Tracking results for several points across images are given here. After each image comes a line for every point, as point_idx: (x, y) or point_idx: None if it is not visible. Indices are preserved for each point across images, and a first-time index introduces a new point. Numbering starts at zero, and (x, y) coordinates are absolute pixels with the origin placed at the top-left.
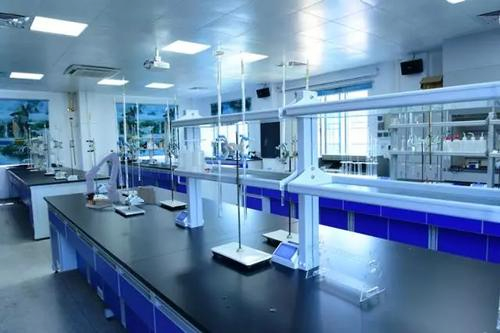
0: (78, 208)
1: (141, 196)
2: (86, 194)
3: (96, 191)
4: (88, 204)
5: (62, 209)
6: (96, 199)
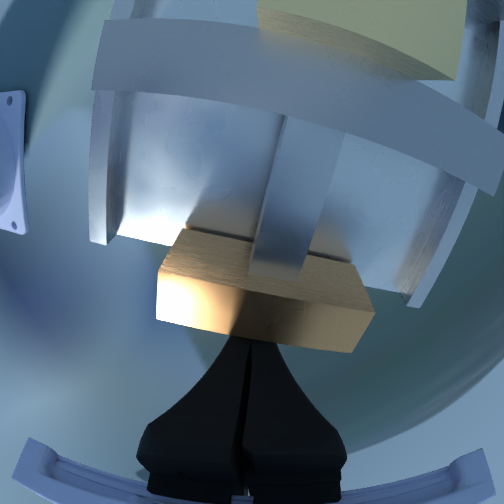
0: (482, 286)
1: None
2: (422, 477)
3: (48, 469)
4: (460, 223)
5: (478, 377)
6: (193, 276)
